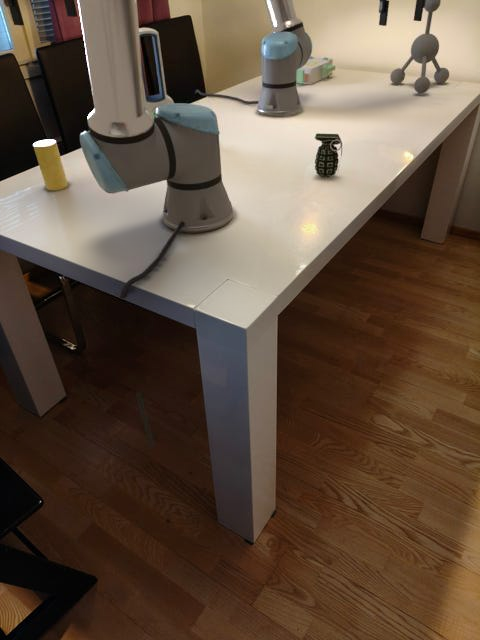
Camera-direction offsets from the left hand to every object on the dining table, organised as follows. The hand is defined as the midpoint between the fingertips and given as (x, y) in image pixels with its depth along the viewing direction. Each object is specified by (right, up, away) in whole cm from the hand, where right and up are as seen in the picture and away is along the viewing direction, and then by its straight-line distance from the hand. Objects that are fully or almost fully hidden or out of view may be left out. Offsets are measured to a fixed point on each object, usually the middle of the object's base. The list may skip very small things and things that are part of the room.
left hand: (46, 20), depth 107 cm
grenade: (+64, -30, +15) cm, 72 cm away
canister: (-5, -31, +19) cm, 37 cm away
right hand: (+93, +28, +46) cm, 107 cm away
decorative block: (+71, +37, +101) cm, 129 cm away
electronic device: (+18, -11, +44) cm, 48 cm away
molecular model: (+113, +24, +81) cm, 141 cm away
